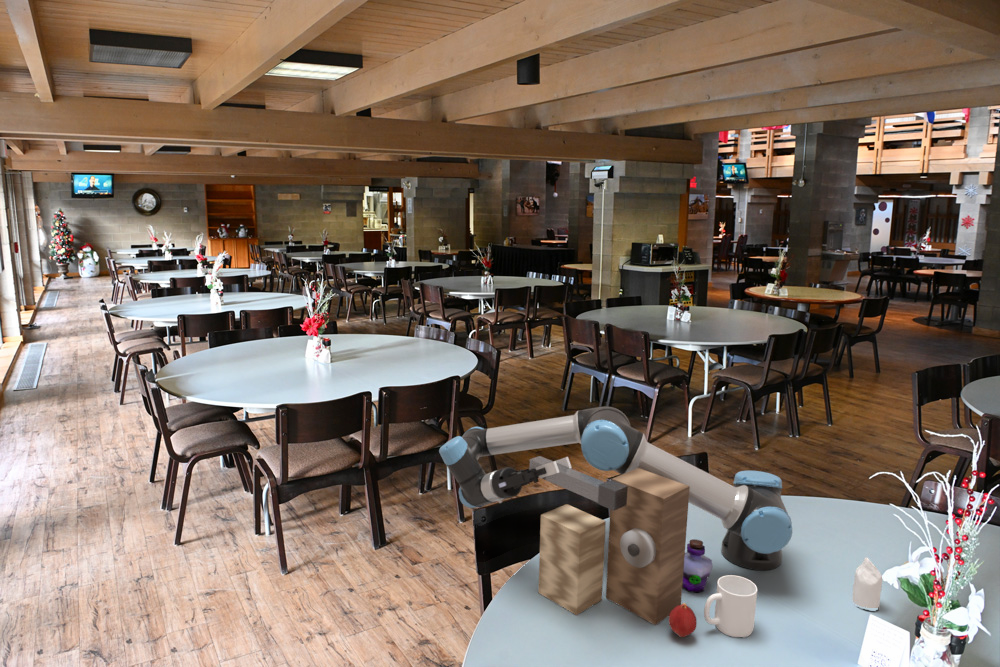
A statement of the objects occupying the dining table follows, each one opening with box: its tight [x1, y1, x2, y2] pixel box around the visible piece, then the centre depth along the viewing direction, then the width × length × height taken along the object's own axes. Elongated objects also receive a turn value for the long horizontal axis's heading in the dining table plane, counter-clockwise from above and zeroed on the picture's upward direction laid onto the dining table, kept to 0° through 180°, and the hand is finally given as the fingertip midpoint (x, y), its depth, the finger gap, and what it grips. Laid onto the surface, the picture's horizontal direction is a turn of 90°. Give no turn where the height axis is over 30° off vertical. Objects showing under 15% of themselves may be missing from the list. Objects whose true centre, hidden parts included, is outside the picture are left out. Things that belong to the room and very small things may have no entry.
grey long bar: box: [529, 455, 628, 511], centre depth 155 cm, size 26×4×4 cm, turn 42°
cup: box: [703, 574, 758, 638], centre depth 149 cm, size 8×12×10 cm
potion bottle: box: [682, 539, 713, 594], centre depth 165 cm, size 9×9×12 cm
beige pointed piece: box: [851, 557, 883, 608], centre depth 159 cm, size 6×12×6 cm
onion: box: [668, 602, 697, 638], centre depth 146 cm, size 6×6×8 cm
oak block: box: [538, 503, 607, 616], centre depth 159 cm, size 12×9×20 cm
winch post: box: [605, 468, 690, 626], centre depth 155 cm, size 14×13×30 cm
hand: (562, 464), depth 157 cm, fingers closed on grey long bar, 3 cm apart
